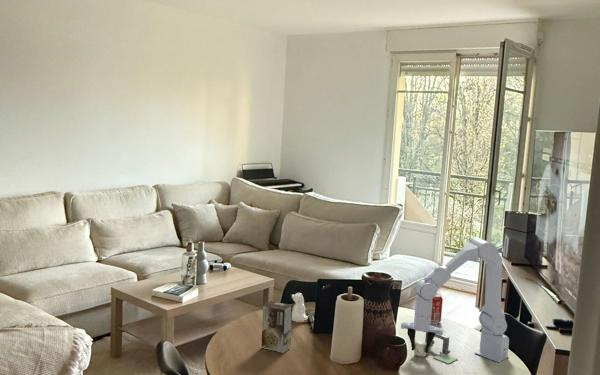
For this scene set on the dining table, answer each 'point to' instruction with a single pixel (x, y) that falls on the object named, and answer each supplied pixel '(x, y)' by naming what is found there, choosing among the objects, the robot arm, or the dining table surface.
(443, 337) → the bracket
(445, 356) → the pad
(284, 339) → the coffee box
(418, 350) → the plug
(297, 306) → the seated beast figurine
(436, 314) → the beverage can
